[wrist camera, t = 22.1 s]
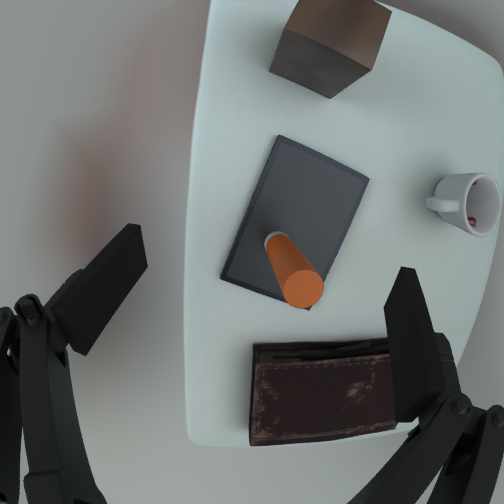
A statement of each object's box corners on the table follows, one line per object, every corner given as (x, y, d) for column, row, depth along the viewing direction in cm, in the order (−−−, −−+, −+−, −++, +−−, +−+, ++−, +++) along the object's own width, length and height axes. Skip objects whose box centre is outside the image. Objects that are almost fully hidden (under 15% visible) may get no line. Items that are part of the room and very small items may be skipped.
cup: (411, 229, 36) (446, 243, 29) (409, 170, 34) (445, 172, 27) (465, 223, 37) (500, 234, 29) (464, 170, 35) (501, 173, 27)
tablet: (220, 276, 37) (219, 279, 36) (277, 135, 33) (279, 134, 32) (307, 307, 38) (309, 311, 37) (366, 178, 34) (370, 178, 33)
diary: (384, 415, 45) (394, 433, 41) (248, 428, 44) (249, 450, 39) (414, 329, 41) (431, 345, 36) (253, 337, 39) (256, 358, 34)
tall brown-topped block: (268, 71, 31) (284, 28, 19) (292, 23, 29) (314, -28, 17) (330, 99, 32) (371, 70, 20) (350, 50, 30) (392, 11, 18)
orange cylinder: (260, 251, 35) (276, 301, 21) (270, 227, 34) (293, 263, 21) (284, 260, 35) (312, 313, 22) (294, 236, 35) (330, 277, 21)
